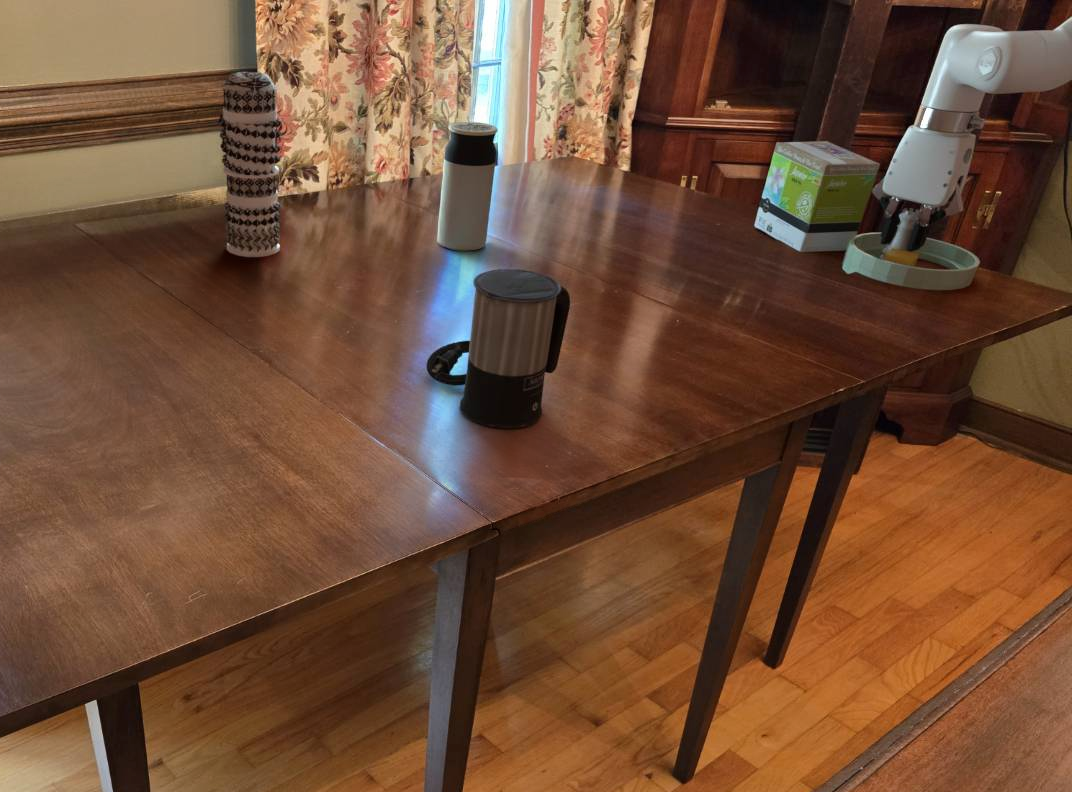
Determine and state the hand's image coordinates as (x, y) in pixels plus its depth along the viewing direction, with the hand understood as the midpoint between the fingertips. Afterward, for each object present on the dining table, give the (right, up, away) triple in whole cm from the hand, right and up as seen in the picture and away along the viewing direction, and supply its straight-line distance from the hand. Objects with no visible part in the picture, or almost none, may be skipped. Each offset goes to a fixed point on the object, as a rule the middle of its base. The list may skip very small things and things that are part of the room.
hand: (900, 245), depth 150 cm
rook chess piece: (0, -2, +2) cm, 3 cm away
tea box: (-9, +5, +15) cm, 18 cm away
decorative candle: (-101, 0, +1) cm, 101 cm away
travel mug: (-68, +2, +7) cm, 68 cm away
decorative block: (-2, -6, -2) cm, 6 cm away
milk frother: (-71, -30, -39) cm, 86 cm away
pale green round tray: (+1, -5, 0) cm, 5 cm away
